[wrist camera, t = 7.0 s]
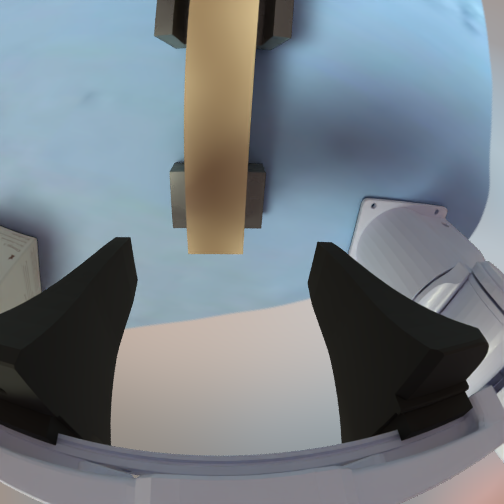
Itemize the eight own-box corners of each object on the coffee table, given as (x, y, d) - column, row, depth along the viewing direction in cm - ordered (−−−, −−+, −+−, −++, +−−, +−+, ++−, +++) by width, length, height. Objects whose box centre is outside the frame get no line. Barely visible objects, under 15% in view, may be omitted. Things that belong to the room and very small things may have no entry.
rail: (254, -21, 11) (263, -46, 7) (239, 220, 20) (242, 253, 16) (201, -23, 10) (195, -48, 7) (194, 220, 19) (188, 253, 16)
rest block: (262, 163, 19) (265, 172, 18) (258, 215, 22) (261, 228, 20) (174, 162, 19) (169, 172, 17) (177, 214, 21) (173, 227, 19)
